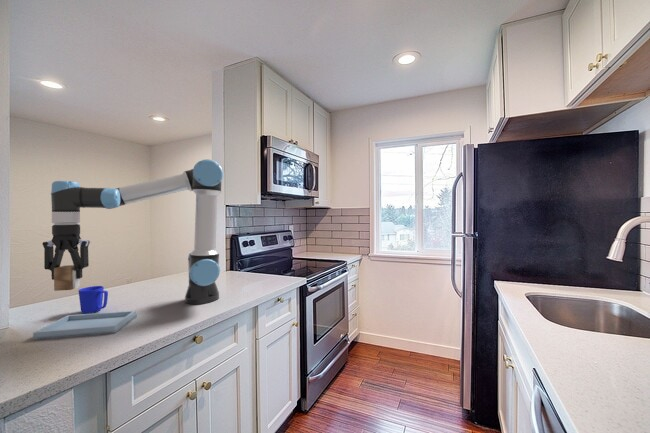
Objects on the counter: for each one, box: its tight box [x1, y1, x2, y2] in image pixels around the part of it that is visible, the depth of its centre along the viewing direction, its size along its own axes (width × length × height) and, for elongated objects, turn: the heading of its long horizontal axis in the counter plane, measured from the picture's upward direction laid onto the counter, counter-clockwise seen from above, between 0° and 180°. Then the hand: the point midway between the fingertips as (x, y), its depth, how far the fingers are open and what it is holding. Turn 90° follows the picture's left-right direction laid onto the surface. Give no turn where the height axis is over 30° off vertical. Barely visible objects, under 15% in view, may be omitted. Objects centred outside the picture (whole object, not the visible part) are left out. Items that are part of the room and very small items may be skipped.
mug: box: [78, 285, 109, 314], centre depth 119 cm, size 8×12×10 cm
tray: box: [32, 310, 138, 341], centre depth 102 cm, size 24×16×2 cm, turn 101°
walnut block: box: [53, 264, 75, 292], centre depth 101 cm, size 5×5×8 cm
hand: (67, 287), depth 101 cm, fingers closed on walnut block, 5 cm apart
